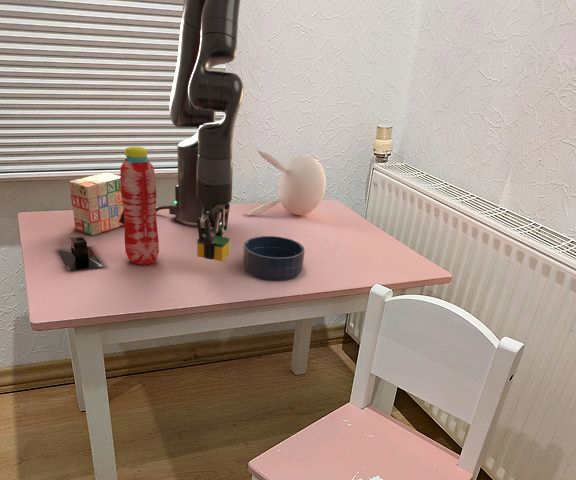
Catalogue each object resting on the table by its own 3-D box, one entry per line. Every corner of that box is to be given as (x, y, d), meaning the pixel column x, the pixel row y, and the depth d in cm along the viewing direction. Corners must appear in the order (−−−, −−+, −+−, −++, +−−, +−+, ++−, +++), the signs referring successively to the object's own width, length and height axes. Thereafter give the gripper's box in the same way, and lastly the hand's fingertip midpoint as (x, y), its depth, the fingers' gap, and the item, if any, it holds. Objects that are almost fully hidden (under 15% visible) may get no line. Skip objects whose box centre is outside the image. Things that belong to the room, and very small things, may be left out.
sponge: (197, 256, 130) (197, 239, 128) (204, 249, 134) (204, 233, 131) (222, 261, 129) (222, 244, 127) (228, 254, 132) (229, 238, 130)
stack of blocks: (135, 211, 162) (132, 166, 156) (151, 216, 160) (149, 171, 153) (74, 229, 147) (68, 180, 140) (92, 235, 144) (86, 185, 138)
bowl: (234, 274, 132) (235, 251, 129) (253, 253, 144) (254, 232, 141) (293, 285, 130) (296, 262, 127) (308, 263, 141) (310, 242, 138)
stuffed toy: (329, 154, 172) (250, 140, 163) (347, 169, 162) (263, 156, 153) (313, 214, 183) (238, 204, 173) (328, 232, 173) (249, 223, 163)
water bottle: (117, 250, 138) (107, 139, 124) (150, 247, 141) (144, 139, 127) (130, 270, 129) (121, 153, 115) (165, 266, 133) (160, 152, 119)
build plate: (103, 268, 129) (101, 248, 126) (69, 272, 126) (66, 251, 123) (89, 247, 138) (87, 228, 135) (57, 251, 135) (54, 231, 132)
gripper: (210, 167, 128) (209, 241, 137) (184, 183, 116) (185, 262, 126) (242, 173, 127) (239, 247, 136) (219, 189, 115) (217, 269, 125)
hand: (213, 254), depth 131 cm, fingers closed on sponge, 4 cm apart
